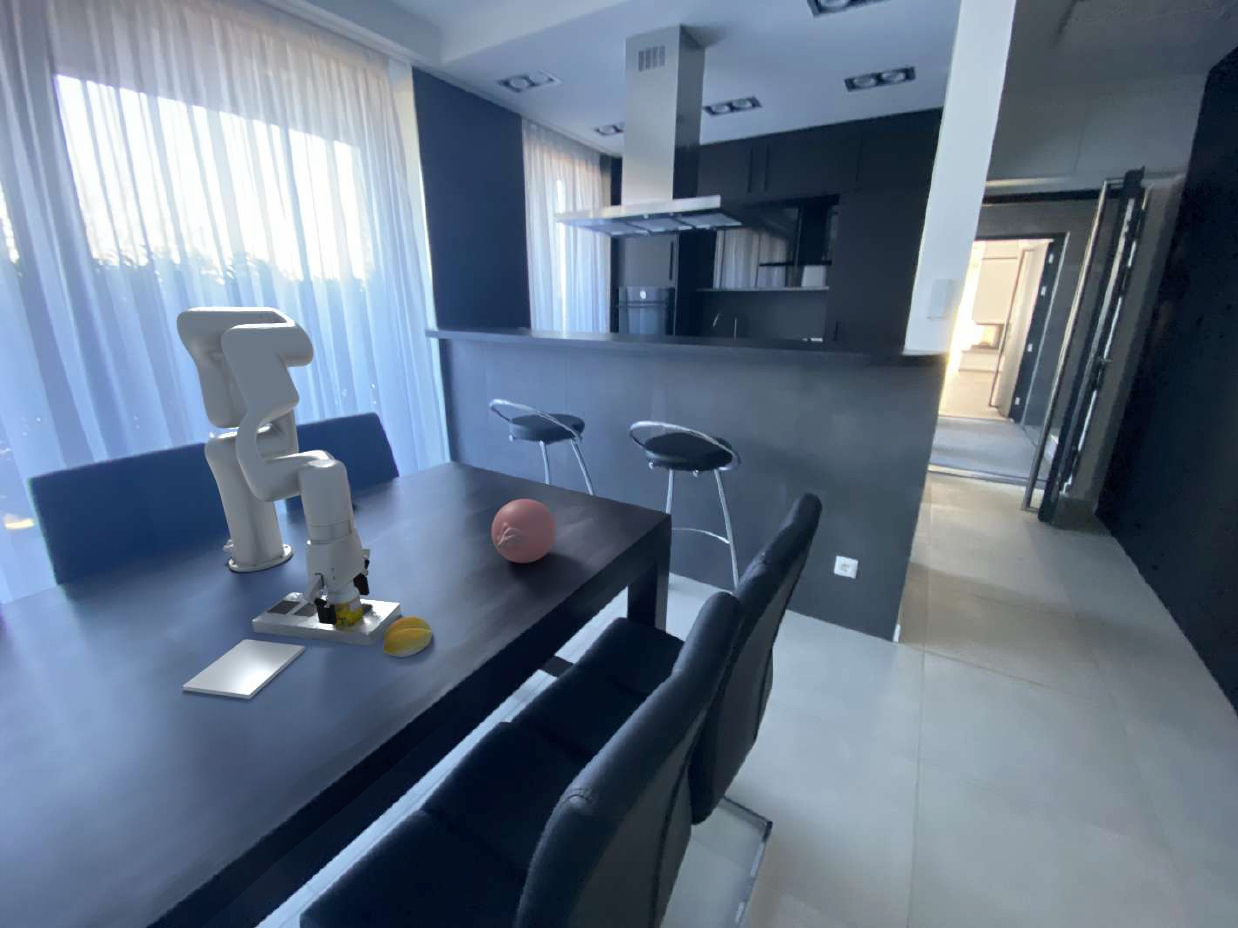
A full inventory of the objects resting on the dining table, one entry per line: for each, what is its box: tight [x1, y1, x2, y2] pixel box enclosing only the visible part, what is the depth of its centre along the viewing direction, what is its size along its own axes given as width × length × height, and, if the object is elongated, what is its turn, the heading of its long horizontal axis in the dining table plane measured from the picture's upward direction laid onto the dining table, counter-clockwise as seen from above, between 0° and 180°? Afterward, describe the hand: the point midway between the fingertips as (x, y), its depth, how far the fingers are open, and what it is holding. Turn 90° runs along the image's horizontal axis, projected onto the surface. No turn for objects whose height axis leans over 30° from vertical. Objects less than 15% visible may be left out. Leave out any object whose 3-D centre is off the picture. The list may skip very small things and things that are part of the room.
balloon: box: [491, 498, 557, 564], centre depth 120 cm, size 15×20×15 cm
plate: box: [182, 638, 306, 700], centre depth 87 cm, size 12×12×1 cm
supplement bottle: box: [331, 579, 364, 627], centre depth 97 cm, size 5×5×10 cm
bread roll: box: [382, 616, 433, 658], centre depth 93 cm, size 8×9×4 cm
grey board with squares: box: [251, 591, 402, 647], centre depth 99 cm, size 24×10×3 cm, turn 82°
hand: (345, 608), depth 98 cm, fingers open, 9 cm apart
